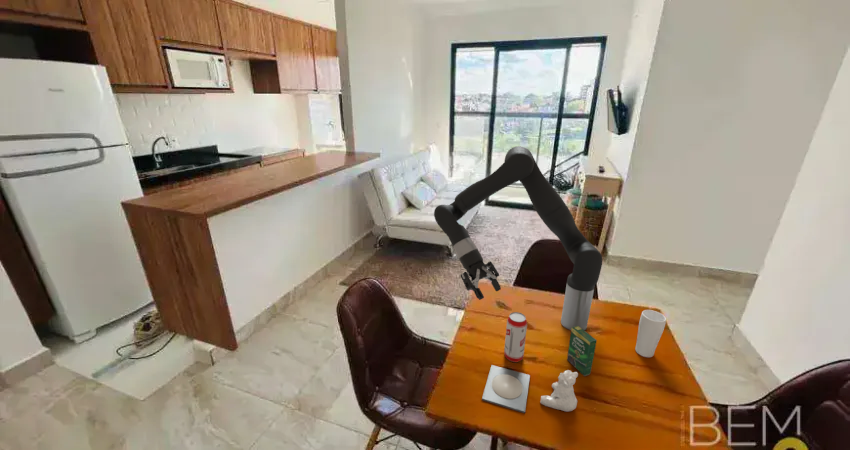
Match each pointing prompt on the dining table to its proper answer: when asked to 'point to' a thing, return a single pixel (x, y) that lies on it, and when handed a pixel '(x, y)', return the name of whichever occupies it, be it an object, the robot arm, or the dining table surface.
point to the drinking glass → (649, 332)
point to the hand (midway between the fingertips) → (490, 294)
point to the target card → (507, 388)
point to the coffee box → (581, 350)
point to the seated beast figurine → (562, 393)
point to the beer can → (515, 337)
